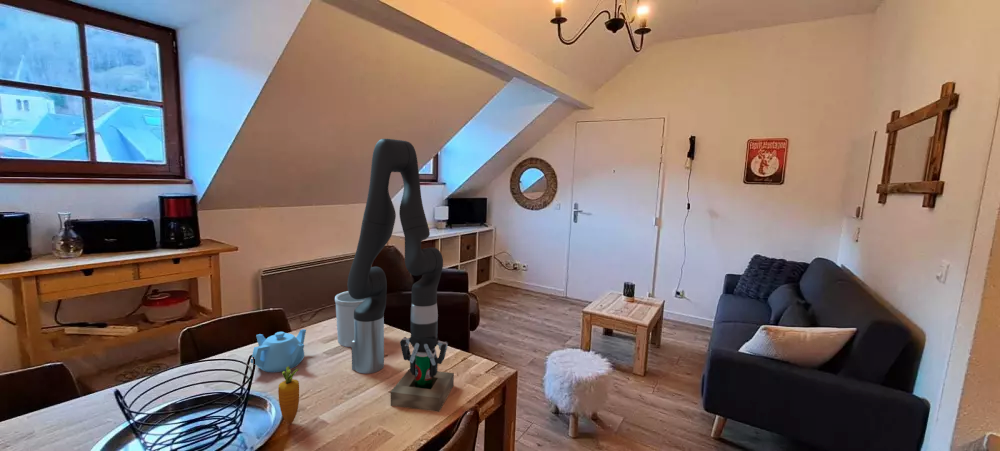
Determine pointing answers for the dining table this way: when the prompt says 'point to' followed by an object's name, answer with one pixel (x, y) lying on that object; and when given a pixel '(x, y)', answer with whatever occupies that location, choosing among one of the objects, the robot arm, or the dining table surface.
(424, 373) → the soda can
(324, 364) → the dining table surface
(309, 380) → the dining table surface
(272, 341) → the teapot
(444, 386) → the socket block
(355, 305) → the utensil holder
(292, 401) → the carrot
